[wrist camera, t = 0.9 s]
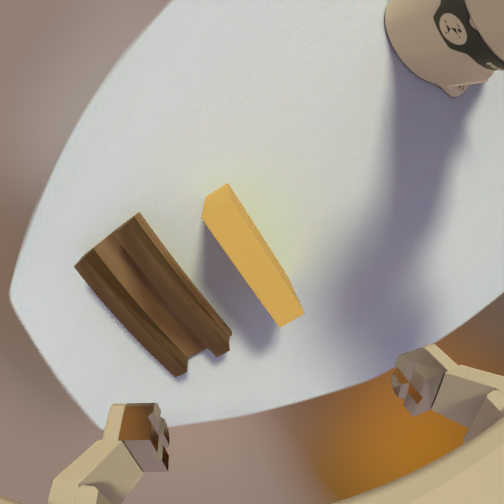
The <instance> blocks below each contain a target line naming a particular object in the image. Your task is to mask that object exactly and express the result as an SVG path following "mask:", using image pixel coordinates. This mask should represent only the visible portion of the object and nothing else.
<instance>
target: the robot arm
mask: <svg viewBox="0 0 504 504" xmlns="http://www.w3.org/2000/svg"><path fill="white" fill-rule="evenodd" d="M385 25H386V30H387V34H388V37H389V39H390V42H391V44H392V46H393V48H394V50H395V51H396V53H397V54H398V56H399V57H400V59H401V60H402V61H403V62H404V64H405V65H406V66H407V67H408V68H409V69H410V70H411V71H412V72H413V73H415V74H416V75H417V76H419V77H420V78H422V79H424V80H426V81H428V82H430V83H433V84H436V85H438V86H440V87H441V88H442V89H443V90H444V91H445V92H446V93H448V94H449V95H450V96H452V97H457V96H460V95H461V94H462V93H463V92H464V91H465V90H466V89H467V88H468V87H469V86H470V85H471V84H477V83H484V82H487V81H488V78H489V77H491V76H492V74H493V73H494V71H495V70H501V71H504V0H390V1H389V3H388V5H387V8H386V12H385ZM395 365H396V366H397V369H396V371H395V372H394V373H393V376H392V386H393V390H394V392H395V394H396V395H397V396H398V397H399V398H401V399H404V406H405V407H406V408H407V410H408V411H409V412H410V414H411V415H412V416H415V415H418V414H420V413H423V412H425V411H427V410H429V409H431V410H433V411H435V412H437V413H439V414H441V415H443V416H445V417H447V418H449V419H451V420H453V421H455V422H457V423H459V424H461V425H463V426H465V427H468V428H469V430H468V432H467V433H466V435H465V437H464V442H465V443H464V444H463V445H461V446H460V447H458V448H456V449H455V450H453V451H451V452H450V453H448V454H446V455H445V456H443V457H441V458H439V459H437V460H435V461H434V462H432V463H430V464H428V465H426V466H424V467H422V468H420V469H418V470H416V471H414V472H412V473H410V474H408V475H406V476H403V477H401V478H399V479H397V480H394V481H392V482H390V483H387V484H385V485H383V486H380V487H378V488H375V489H373V490H370V491H367V492H365V493H362V494H359V495H357V496H353V497H351V498H348V499H345V500H341V501H339V502H335V503H332V504H504V376H500V375H496V374H493V373H489V372H485V371H481V370H478V369H474V368H471V367H467V366H464V365H459V366H458V365H457V364H456V363H455V362H453V361H452V360H451V359H450V358H449V357H448V356H447V355H446V354H445V353H444V352H443V351H442V350H441V349H439V348H438V347H437V346H436V345H435V344H432V343H431V344H429V345H426V346H423V347H421V348H418V349H415V350H413V351H410V352H407V353H404V354H402V355H399V356H398V357H397V359H396V363H395ZM160 415H161V410H160V408H159V405H158V404H157V403H127V404H113V405H112V406H111V407H110V411H109V415H108V419H107V422H106V426H105V430H104V434H103V438H102V440H98V441H96V442H95V443H94V444H93V445H92V446H91V447H90V448H89V449H87V450H86V451H85V452H84V453H83V454H82V455H81V456H80V457H79V458H77V459H76V460H75V461H74V462H73V463H72V464H71V465H69V466H68V467H67V468H66V469H65V470H64V471H63V472H61V473H60V474H59V475H58V476H57V477H56V478H55V479H54V481H53V485H52V489H51V492H50V496H49V500H48V503H47V504H121V503H122V502H123V501H124V499H125V498H126V497H127V495H128V494H129V493H130V491H131V490H132V489H133V487H134V486H135V485H136V483H137V482H138V480H139V479H140V478H141V476H142V475H143V472H166V471H168V460H169V455H168V453H167V451H166V448H167V447H168V446H169V432H168V427H167V424H166V421H165V419H163V418H162V417H160ZM0 504H25V503H22V502H19V501H16V500H13V499H10V498H8V497H5V496H2V495H0Z"/></svg>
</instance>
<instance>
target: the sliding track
mask: <svg viewBox="0 0 504 504" xmlns="http://www.w3.org/2000/svg"><path fill="white" fill-rule="evenodd" d="M74 267H75V269H76V270H77V271H78V272H79V274H80V275H81V276H82V278H83V279H84V280H85V281H86V282H87V284H88V285H89V286H90V287H91V289H92V290H93V291H94V292H95V293H96V295H97V296H98V297H99V298H100V299H101V300H102V302H103V303H104V304H105V305H106V306H107V307H108V309H109V310H110V311H111V312H112V313H113V314H114V315H115V316H116V318H117V319H118V320H119V321H120V322H121V323H122V324H123V325H124V326H125V327H126V328H127V330H128V331H129V332H130V333H131V334H132V335H133V336H134V337H135V338H136V339H137V340H138V341H139V342H140V343H141V344H142V345H143V346H144V347H145V348H146V349H147V350H148V351H149V352H150V353H151V354H152V355H153V356H154V357H155V358H156V359H157V360H158V361H159V362H160V363H161V364H162V365H163V366H164V367H165V368H166V369H167V370H168V371H169V372H170V373H171V374H172V375H174V376H175V377H177V376H179V375H181V374H183V373H186V372H187V363H188V358H189V357H191V356H193V355H195V354H197V353H198V352H200V351H202V350H204V349H206V348H209V349H210V350H211V352H212V353H213V354H214V355H215V356H216V357H218V356H220V355H222V354H224V353H226V352H228V351H230V349H229V336H231V335H232V332H231V330H230V328H229V327H228V326H227V325H226V324H225V322H224V321H223V320H222V319H221V318H220V316H219V315H218V314H217V313H216V312H215V310H214V309H213V308H212V307H211V305H210V304H209V303H208V302H207V300H206V299H205V298H204V297H203V295H202V294H201V293H200V292H199V290H198V289H197V288H196V287H195V285H194V284H193V283H192V282H191V280H190V279H189V278H188V277H187V275H186V274H185V273H184V271H183V270H182V269H181V268H180V266H179V265H178V264H177V262H176V261H175V260H174V258H173V257H172V256H171V254H170V253H169V252H168V250H167V249H166V248H165V246H164V245H163V244H162V242H161V241H160V240H159V238H158V237H157V236H156V234H155V233H154V232H153V230H152V229H151V228H150V226H149V225H148V223H147V222H146V221H145V219H144V218H143V217H142V215H141V214H140V212H139V213H137V214H136V215H135V216H133V217H132V218H131V219H129V220H128V221H127V222H125V223H124V224H123V225H122V226H120V227H119V228H118V229H116V230H115V231H114V232H113V233H111V234H110V235H109V236H107V237H106V238H105V239H104V240H102V241H101V242H100V243H99V244H97V245H96V246H95V247H94V248H92V249H91V250H90V251H89V252H88V253H86V254H85V255H84V256H83V257H82V258H81V259H80V261H79V262H78V263H77V264H76V265H75V266H74Z"/></svg>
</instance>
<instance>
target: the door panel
mask: <svg viewBox="0 0 504 504" xmlns="http://www.w3.org/2000/svg"><path fill="white" fill-rule="evenodd" d="M201 218H202V219H203V221H204V222H205V224H206V225H207V227H208V228H209V229H210V231H211V232H212V234H213V235H214V237H215V238H216V239H217V241H218V242H219V244H220V245H221V246H222V248H223V249H224V251H225V252H226V254H227V255H228V256H229V258H230V259H231V261H232V262H233V263H234V265H235V266H236V268H237V269H238V271H239V272H240V273H241V275H242V276H243V278H244V279H245V280H246V282H247V283H248V285H249V286H250V287H251V289H252V290H253V292H254V293H255V294H256V296H257V297H258V298H259V300H260V301H261V303H262V304H263V305H264V307H265V308H266V310H267V311H268V312H269V314H270V315H271V316H272V318H273V319H274V321H275V322H276V323H277V325H278V326H279V327H282V326H284V325H286V324H287V323H289V322H291V321H293V320H294V319H296V318H298V317H300V316H301V315H303V314H305V313H304V311H303V309H302V306H301V304H300V302H299V300H298V298H297V295H296V293H295V291H294V289H293V287H292V285H291V283H290V280H289V278H288V276H287V274H286V273H285V271H284V270H283V268H282V267H281V265H280V263H279V262H278V260H277V259H276V257H275V256H274V254H273V252H272V251H271V249H270V248H269V246H268V245H267V243H266V241H265V240H264V238H263V237H262V235H261V234H260V232H259V230H258V229H257V227H256V226H255V224H254V223H253V221H252V220H251V218H250V216H249V215H248V213H247V212H246V210H245V209H244V207H243V206H242V204H241V203H240V201H239V199H238V198H237V196H236V195H235V193H234V192H233V190H232V189H231V187H230V186H229V184H228V183H227V184H225V185H224V186H222V187H221V188H219V189H218V190H216V191H214V192H213V193H211V194H210V195H208V196H207V197H206V198H205V202H204V207H203V212H202V216H201Z"/></svg>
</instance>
